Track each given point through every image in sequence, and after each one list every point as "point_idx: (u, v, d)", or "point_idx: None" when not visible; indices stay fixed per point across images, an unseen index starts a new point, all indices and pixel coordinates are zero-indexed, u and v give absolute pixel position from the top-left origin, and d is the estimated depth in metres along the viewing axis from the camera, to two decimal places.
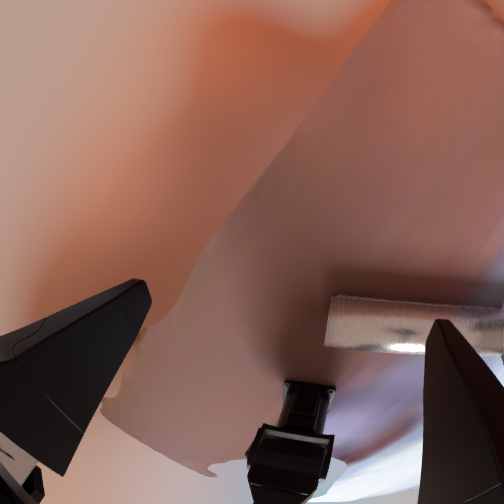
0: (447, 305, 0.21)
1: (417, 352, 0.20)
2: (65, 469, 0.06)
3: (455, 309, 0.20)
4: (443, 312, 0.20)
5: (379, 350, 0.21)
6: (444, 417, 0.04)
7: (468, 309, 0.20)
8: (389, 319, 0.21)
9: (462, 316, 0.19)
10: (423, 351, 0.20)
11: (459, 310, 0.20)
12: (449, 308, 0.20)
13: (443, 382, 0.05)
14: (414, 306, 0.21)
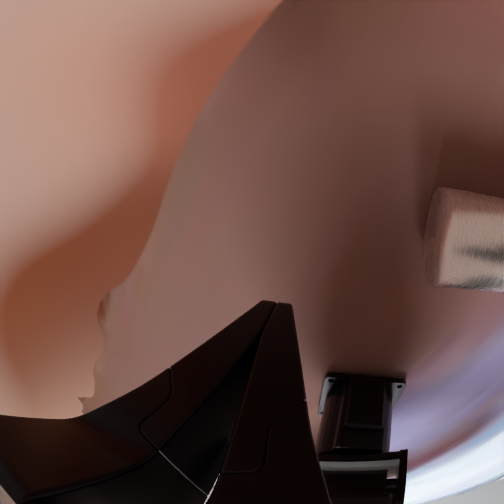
0: None
1: None
2: None
3: None
4: None
5: None
6: None
7: None
8: None
9: None
10: None
11: None
12: None
13: None
14: None
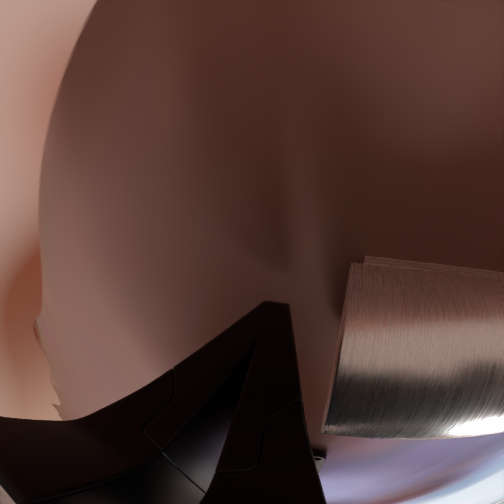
0: None
1: None
2: None
3: None
4: None
5: (491, 433, 0.04)
6: None
7: None
8: None
9: None
10: None
11: None
12: None
13: None
14: None
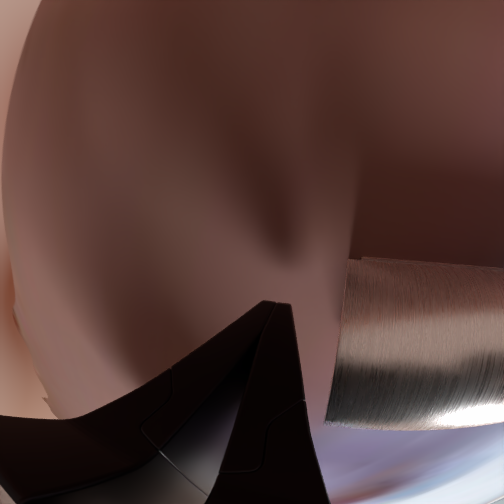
0: None
1: None
2: None
3: None
4: None
5: (492, 423, 0.04)
6: None
7: None
8: None
9: None
10: None
11: None
12: None
13: None
14: None
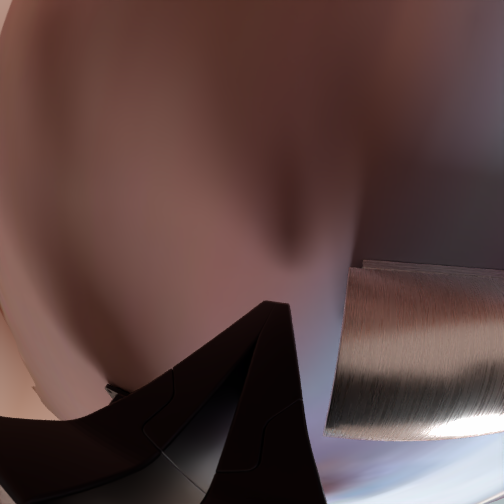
0: None
1: None
2: None
3: None
4: None
5: (494, 432, 0.04)
6: None
7: None
8: None
9: None
10: None
11: None
12: None
13: None
14: None
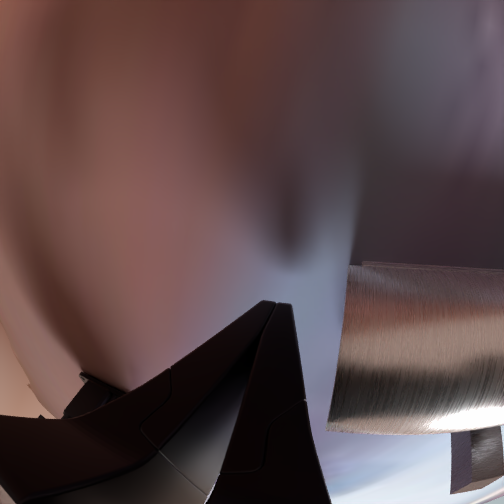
0: None
1: None
2: None
3: None
4: None
5: (494, 426, 0.04)
6: None
7: None
8: None
9: None
10: None
11: None
12: None
13: None
14: None
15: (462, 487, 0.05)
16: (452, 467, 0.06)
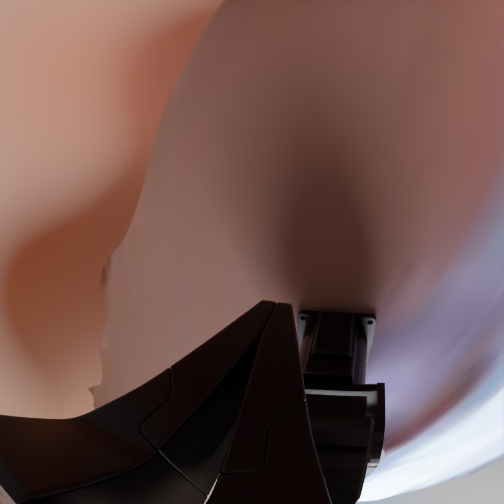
0: None
1: None
2: None
3: None
4: None
5: None
6: None
7: None
8: None
9: None
10: None
11: None
12: None
13: None
14: None
15: None
16: None
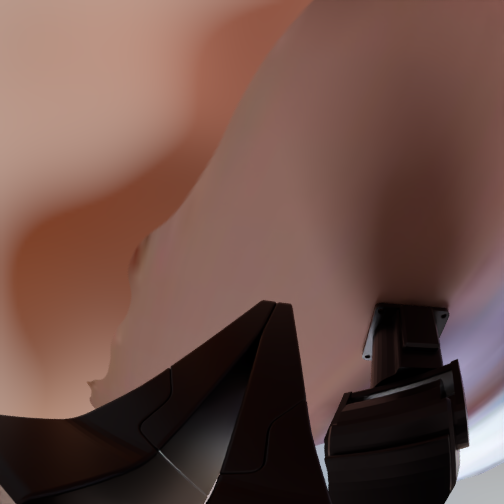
0: None
1: None
2: None
3: None
4: None
5: None
6: None
7: None
8: None
9: None
10: None
11: None
12: None
13: None
14: None
15: None
16: None
